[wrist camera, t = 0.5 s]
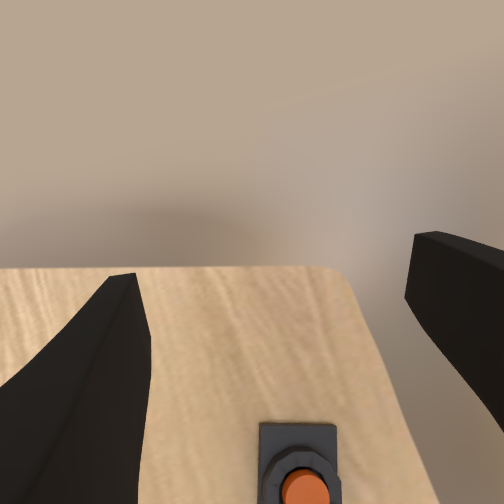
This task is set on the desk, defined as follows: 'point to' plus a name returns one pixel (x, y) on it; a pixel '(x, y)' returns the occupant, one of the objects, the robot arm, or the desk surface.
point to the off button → (304, 488)
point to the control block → (296, 457)
